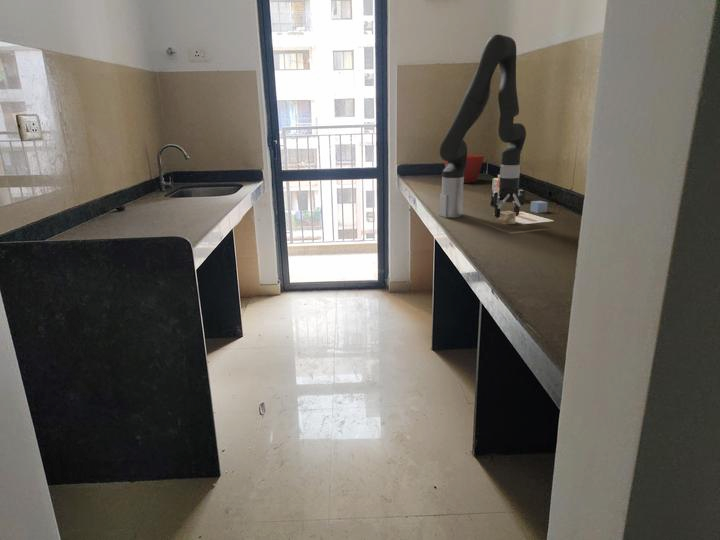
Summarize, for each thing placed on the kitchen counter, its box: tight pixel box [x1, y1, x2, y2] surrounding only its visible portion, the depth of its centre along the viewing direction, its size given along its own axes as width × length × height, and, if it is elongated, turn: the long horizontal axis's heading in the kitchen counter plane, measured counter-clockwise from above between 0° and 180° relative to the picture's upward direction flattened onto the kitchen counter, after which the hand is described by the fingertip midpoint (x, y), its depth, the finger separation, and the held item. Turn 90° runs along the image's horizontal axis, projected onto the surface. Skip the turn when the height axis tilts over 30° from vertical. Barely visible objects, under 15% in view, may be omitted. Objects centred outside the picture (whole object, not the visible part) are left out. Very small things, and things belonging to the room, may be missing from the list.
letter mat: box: [492, 211, 554, 225], centre depth 206 cm, size 15×22×1 cm
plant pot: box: [443, 153, 485, 184], centre depth 317 cm, size 19×19×17 cm
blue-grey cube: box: [529, 200, 549, 214], centre depth 217 cm, size 5×5×5 cm
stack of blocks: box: [491, 174, 500, 199], centre depth 255 cm, size 21×6×12 cm, turn 1°
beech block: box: [496, 210, 516, 225], centre depth 197 cm, size 5×5×5 cm
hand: (506, 216), depth 197 cm, fingers open, 8 cm apart
